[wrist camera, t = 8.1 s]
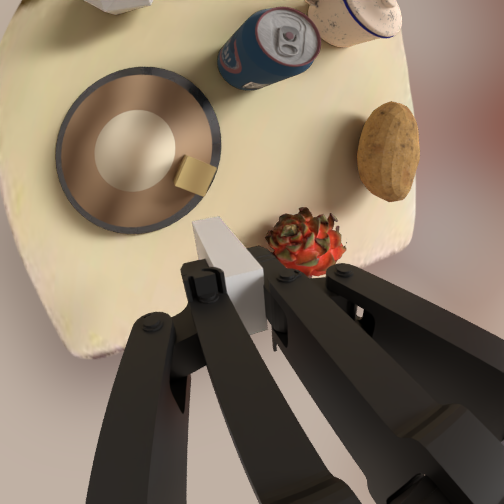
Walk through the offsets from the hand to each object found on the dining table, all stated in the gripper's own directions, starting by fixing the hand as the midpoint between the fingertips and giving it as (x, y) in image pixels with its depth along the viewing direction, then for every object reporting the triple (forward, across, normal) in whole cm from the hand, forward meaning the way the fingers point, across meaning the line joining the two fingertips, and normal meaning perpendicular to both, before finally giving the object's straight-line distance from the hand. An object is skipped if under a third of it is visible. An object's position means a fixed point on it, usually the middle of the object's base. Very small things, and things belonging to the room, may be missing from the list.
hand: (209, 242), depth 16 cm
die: (+18, -4, +25) cm, 31 cm away
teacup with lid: (+18, +21, +22) cm, 35 cm away
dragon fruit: (+18, +14, -9) cm, 25 cm away
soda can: (+18, +9, +14) cm, 24 cm away
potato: (+18, +27, +2) cm, 33 cm away
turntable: (+18, -4, +5) cm, 19 cm away
